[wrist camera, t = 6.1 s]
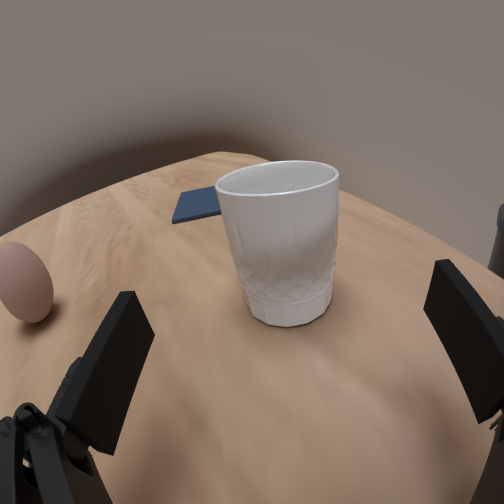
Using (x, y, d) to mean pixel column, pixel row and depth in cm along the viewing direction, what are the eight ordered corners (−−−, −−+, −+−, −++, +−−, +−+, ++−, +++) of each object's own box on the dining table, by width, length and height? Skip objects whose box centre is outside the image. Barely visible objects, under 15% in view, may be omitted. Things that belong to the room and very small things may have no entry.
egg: (27, 346, 20) (-20, 269, 15) (17, 320, 23) (-19, 254, 19) (72, 312, 24) (34, 233, 20) (56, 292, 28) (25, 225, 23)
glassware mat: (264, 179, 53) (263, 176, 53) (280, 203, 41) (280, 199, 40) (181, 195, 52) (181, 192, 52) (172, 224, 40) (171, 220, 40)
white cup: (243, 342, 19) (212, 204, 14) (237, 278, 26) (216, 170, 21) (352, 320, 19) (360, 183, 14) (321, 263, 26) (316, 156, 21)
